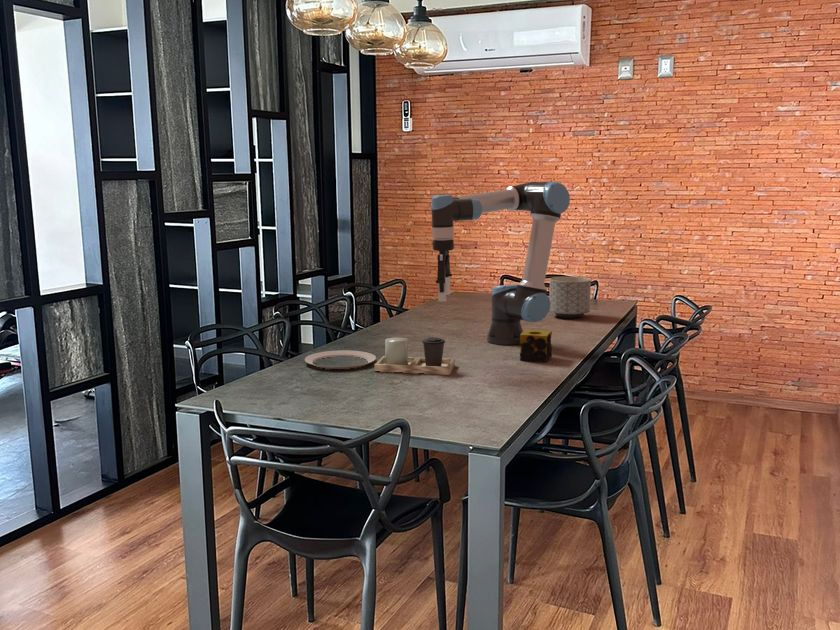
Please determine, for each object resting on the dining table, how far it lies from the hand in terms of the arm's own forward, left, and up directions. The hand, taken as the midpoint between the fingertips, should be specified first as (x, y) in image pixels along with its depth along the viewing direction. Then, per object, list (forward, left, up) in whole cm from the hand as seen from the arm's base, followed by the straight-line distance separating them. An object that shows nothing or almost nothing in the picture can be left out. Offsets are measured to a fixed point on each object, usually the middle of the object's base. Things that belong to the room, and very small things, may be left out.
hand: (444, 298), depth 280 cm
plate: (+36, +11, -23) cm, 44 cm away
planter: (-46, -97, -23) cm, 110 cm away
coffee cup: (+2, +15, -22) cm, 27 cm away
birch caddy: (+8, +15, -23) cm, 28 cm away
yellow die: (-33, -7, -23) cm, 41 cm away
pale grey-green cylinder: (+15, +15, -23) cm, 31 cm away
